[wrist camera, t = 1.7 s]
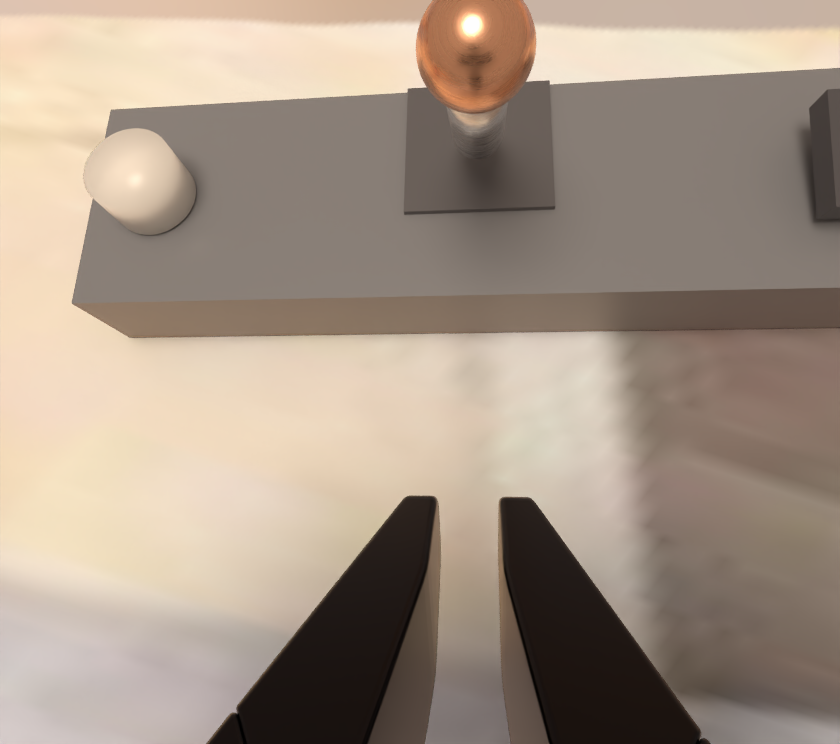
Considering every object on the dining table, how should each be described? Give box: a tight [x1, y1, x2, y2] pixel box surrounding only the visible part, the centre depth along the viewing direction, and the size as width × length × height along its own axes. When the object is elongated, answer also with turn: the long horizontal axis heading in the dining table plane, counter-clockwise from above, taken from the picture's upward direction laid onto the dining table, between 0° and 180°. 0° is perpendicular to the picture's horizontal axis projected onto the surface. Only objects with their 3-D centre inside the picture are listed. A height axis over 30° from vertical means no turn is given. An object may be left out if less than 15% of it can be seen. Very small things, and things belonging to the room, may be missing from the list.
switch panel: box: [72, 68, 840, 337], centre depth 22 cm, size 8×28×4 cm, turn 89°
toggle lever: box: [416, 0, 536, 160], centre depth 15 cm, size 2×2×9 cm
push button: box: [83, 128, 196, 235], centre depth 20 cm, size 3×3×2 cm
